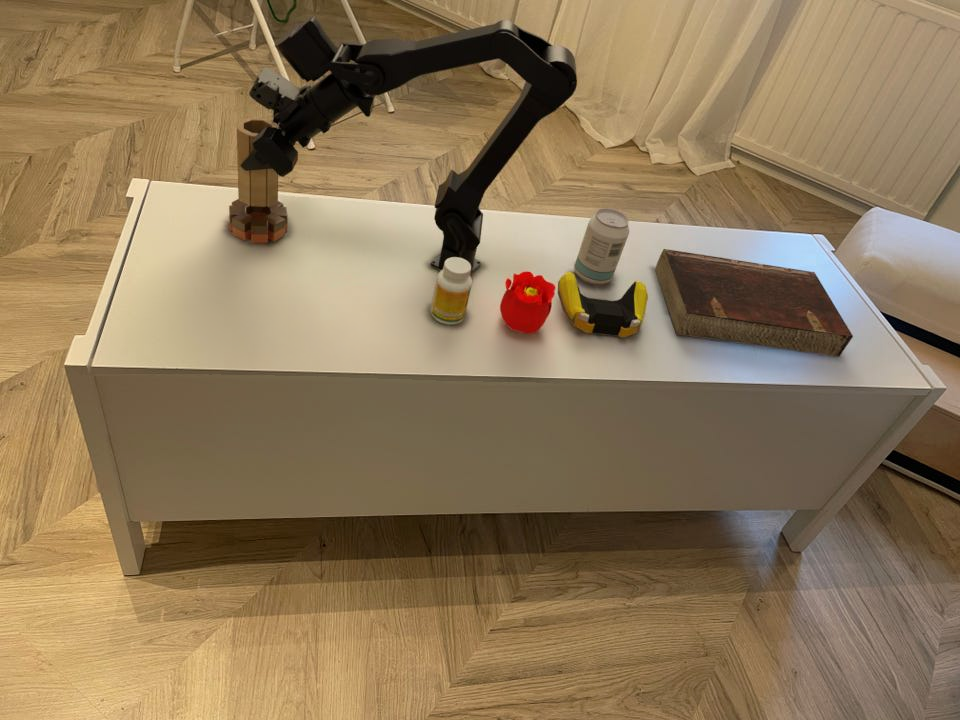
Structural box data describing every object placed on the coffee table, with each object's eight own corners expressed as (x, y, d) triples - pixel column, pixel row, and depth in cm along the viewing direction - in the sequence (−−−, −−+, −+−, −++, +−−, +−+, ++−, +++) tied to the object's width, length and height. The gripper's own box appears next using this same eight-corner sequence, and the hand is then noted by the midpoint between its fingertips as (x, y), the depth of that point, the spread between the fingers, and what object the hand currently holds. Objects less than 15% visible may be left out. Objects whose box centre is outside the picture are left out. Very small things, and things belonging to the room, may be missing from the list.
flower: (488, 313, 122) (498, 272, 117) (529, 306, 126) (541, 266, 120) (511, 345, 117) (523, 305, 112) (554, 337, 121) (567, 297, 116)
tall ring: (276, 187, 127) (277, 118, 119) (278, 207, 122) (279, 137, 114) (238, 185, 125) (236, 115, 117) (238, 206, 121) (236, 135, 113)
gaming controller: (551, 293, 129) (558, 332, 122) (560, 267, 126) (567, 305, 118) (637, 304, 132) (649, 343, 124) (648, 278, 128) (660, 317, 121)
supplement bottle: (427, 303, 121) (436, 253, 115) (460, 303, 123) (471, 254, 116) (433, 326, 117) (443, 275, 111) (467, 326, 119) (479, 276, 113)
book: (802, 291, 145) (814, 269, 142) (838, 358, 131) (853, 336, 128) (654, 268, 141) (664, 246, 138) (675, 335, 127) (686, 312, 124)
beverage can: (609, 268, 138) (631, 211, 130) (612, 291, 133) (634, 233, 125) (572, 261, 138) (591, 202, 130) (572, 283, 133) (592, 224, 125)
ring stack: (256, 205, 132) (256, 189, 130) (298, 227, 129) (298, 211, 127) (217, 226, 126) (216, 209, 124) (260, 249, 123) (260, 233, 121)
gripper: (301, 33, 115) (229, 89, 122) (267, 83, 102) (188, 143, 108) (350, 95, 121) (278, 145, 128) (324, 150, 107) (246, 203, 114)
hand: (249, 157), depth 119 cm, fingers closed on tall ring, 6 cm apart
